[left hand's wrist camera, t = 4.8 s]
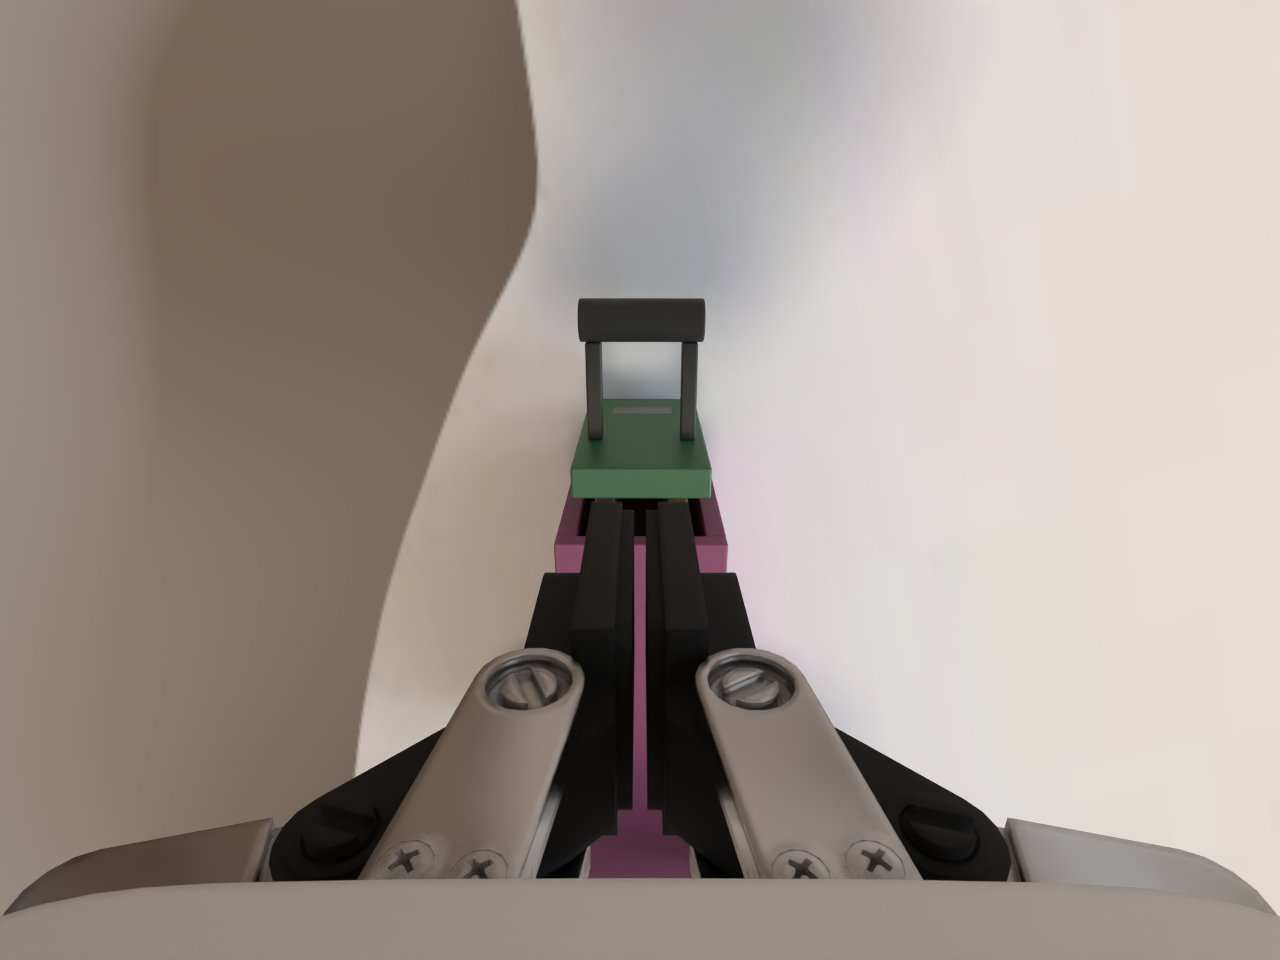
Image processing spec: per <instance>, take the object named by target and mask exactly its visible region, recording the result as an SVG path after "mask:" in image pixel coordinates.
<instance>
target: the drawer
mask: <svg viewBox="0 0 1280 960" xmlns="http://www.w3.org/2000/svg"><path fill="white" fill-rule="evenodd" d="M578 333H579V339H580V341H581V342H586V344H585V356H586V389H587V414H586V417H585V421H584V424H583V428H582V431H581V435H580V438H579V442H578V445H577V449H576V452H575V456H574V459H573V463H572V466H571V495H572V498H596V499H595V502H622V510H634V536H646V510H658V502H688V499H687V498H710V497H711V478H712V469H711V465H710V461H709V457H708V453H707V449H706V445H705V441H704V437H703V433H702V429H701V425H700V421H699V418H698V414H697V410H696V396H697V363H698V343H697V342H703V340H704V335H705V301H704V299H655V298H581V299H579V302H578ZM602 342H682V352H681V397H680V399H603V385H602Z"/></svg>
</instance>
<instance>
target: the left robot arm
mask: <svg viewBox="0 0 1280 960" xmlns="http://www.w3.org/2000/svg"><path fill="white" fill-rule="evenodd" d="M634 660H635V619H634V510H622V502H592V503H591V508H590V514H589V520H588V526H587V532H586V538H585V544H584V550H583V556H582V563H581V569H580V573H544V576H543V579H542V583H541V587H540V590H539V594H538V598H537V602H536V606H535V609H534V613H533V617H532V621H531V625H530V628H529V632H528V636H527V640H526V644H525V647H524V649H522V650H516V651H511V652H509V653H506V654H504V655H501V656H499V657H497V658H495V659H494V660H492V661H491V662H489V663H488V664H486V665H485V666H484V667H483V668H482V669H481V670H480V671H479V673H478V674H477V675H476V676H475V678H474V680H473V682H472V683H471V685H470V687H469V688H468V690H467V692H466V694H465V695H464V697H463V699H462V700H461V702H460V704H459V706H458V707H457V709H456V711H455V712H454V714H453V716H452V718H451V719H450V721H449V723H448V724H447V726H446V727H445V728H443V729H441V730H440V731H438V732H436V733H434V734H432V735H431V736H429V737H427V738H425V739H423V740H422V741H420V742H418V743H416V744H414V745H413V746H411V747H409V748H407V749H405V750H404V751H402V752H400V753H398V754H396V755H395V756H393V757H391V758H389V759H387V760H386V761H384V762H382V763H380V764H378V765H377V766H375V767H373V768H371V769H369V770H368V771H366V772H364V773H362V774H360V775H359V776H357V777H355V778H353V779H352V780H350V781H348V782H346V783H344V784H342V785H341V786H339V787H337V788H335V789H334V790H332V791H330V792H328V793H326V794H325V795H323V796H321V797H319V798H317V799H316V800H314V801H313V802H311V803H310V804H308V805H307V806H306V807H304V808H303V809H301V810H300V811H298V812H297V813H296V814H295V815H294V816H293V817H292V818H291V819H290V820H289V821H288V822H287V823H286V824H285V825H284V826H283V827H280V828H275V825H274V821H273V818H268V819H262V820H257V821H252V822H246V823H241V824H235V825H230V826H225V827H219V828H214V829H209V830H203V831H197V832H192V833H187V834H181V835H176V836H170V837H165V838H160V839H154V840H149V841H143V842H138V843H132V844H127V845H122V846H116V847H111V848H105V849H100V850H97V851H94V852H91V853H87V854H84V855H81V856H77V857H74V858H72V859H71V860H69V861H67V862H65V863H63V864H61V865H59V866H57V867H55V868H53V869H52V870H50V871H48V872H46V873H45V874H44V875H43V876H41V877H40V878H39V879H37V880H36V881H35V882H34V883H32V884H31V885H30V886H28V887H27V888H26V889H25V890H23V891H22V893H21V894H20V895H19V896H18V897H17V899H16V900H15V901H14V902H13V903H12V904H11V906H10V907H9V908H8V909H7V910H6V911H5V913H4V914H3V916H1V917H0V960H1280V917H1279V916H1277V914H1276V913H1275V911H1274V910H1273V909H1272V908H1271V907H1270V906H1269V904H1268V903H1267V902H1266V901H1265V900H1264V898H1263V897H1262V896H1261V895H1260V894H1259V893H1258V891H1257V890H1255V889H1254V888H1253V887H1252V886H1250V885H1249V884H1248V883H1246V882H1245V881H1244V880H1243V879H1241V878H1240V877H1239V876H1237V875H1236V874H1235V873H1234V872H1232V871H1230V870H1228V869H1227V868H1225V867H1223V866H1221V865H1219V864H1217V863H1215V862H1213V861H1211V860H1209V859H1208V858H1206V857H1203V856H1199V855H1196V854H1193V853H1190V852H1186V851H1183V850H1180V849H1175V848H1169V847H1164V846H1158V845H1153V844H1148V843H1142V842H1137V841H1131V840H1126V839H1121V838H1115V837H1110V836H1104V835H1099V834H1093V833H1088V832H1083V831H1077V830H1072V829H1066V828H1061V827H1056V826H1050V825H1045V824H1039V823H1034V822H1028V821H1023V820H1018V819H1012V818H1007V821H1006V825H1005V828H1000V827H997V826H996V825H995V824H994V823H993V822H992V821H991V820H990V819H989V818H988V817H987V816H986V815H985V814H984V813H983V812H982V811H980V810H979V809H977V808H976V807H975V806H973V805H972V804H970V803H969V802H967V801H966V800H964V799H963V798H961V797H959V796H957V795H956V794H954V793H952V792H950V791H948V790H947V789H945V788H943V787H941V786H939V785H938V784H936V783H934V782H932V781H930V780H929V779H927V778H925V777H923V776H921V775H920V774H918V773H916V772H914V771H912V770H911V769H909V768H907V767H905V766H903V765H902V764H900V763H898V762H896V761H894V760H893V759H891V758H889V757H887V756H885V755H884V754H882V753H880V752H878V751H876V750H875V749H873V748H871V747H869V746H867V745H866V744H864V743H862V742H860V741H858V740H857V739H855V738H853V737H851V736H849V735H848V734H846V733H844V732H842V731H840V730H839V729H837V728H835V727H834V726H833V724H832V723H831V721H830V719H829V718H828V716H827V714H826V712H825V711H824V709H823V707H822V706H821V704H820V702H819V700H818V699H817V697H816V695H815V694H814V692H813V690H812V688H811V687H810V685H809V683H808V682H807V680H806V678H805V676H804V675H803V674H802V673H801V671H800V670H799V669H798V668H797V667H796V666H795V665H794V664H792V663H791V662H789V661H788V660H786V659H785V658H783V657H781V656H779V655H776V654H774V653H771V652H769V651H764V650H758V649H756V647H755V644H754V640H753V636H752V632H751V628H750V625H749V621H748V617H747V613H746V609H745V606H744V602H743V598H742V594H741V590H740V587H739V583H738V579H737V576H736V573H700V569H699V562H698V556H697V550H696V544H695V538H694V532H693V526H692V520H691V514H690V508H689V503H688V502H658V510H646V620H645V660H646V743H647V810H662V831H663V835H678V836H679V837H680V838H682V839H683V840H684V841H685V842H686V843H688V844H689V862H690V871H691V875H692V878H588V875H589V871H590V862H591V844H592V843H594V842H595V841H596V840H597V839H598V838H600V837H601V836H602V835H617V831H618V810H633V743H634Z"/></svg>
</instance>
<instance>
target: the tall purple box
mask: <svg viewBox="0 0 1280 960" xmlns="http://www.w3.org/2000/svg"><path fill="white" fill-rule="evenodd" d="M595 499H596V498H572V495H571V485H570V488H569V492H568V496H567V500H566V503H565V507H564V511H563V514H562V518H561V522H560V526H559V529H558V533H557V537H556V540H555V544H554V553H555V572H556V573H580V569H581V563H582V556H583V550H584V544H585V538H586V532H587V526H588V520H589V514H590V508H591V503H592V502H595ZM687 499H688V503H689V508H690V514H691V520H692V526H693V532H694V538H695V544H696V550H697V556H698V562H699V569H700V573H727V555H728V544H727V540H726V535H725V531H724V527H723V523H722V519H721V515H720V511H719V507H718V503H717V499H716V494H715V490H714V486H713V482H712V478H711V497H710V498H687ZM634 619H635V660H634V743H633V810H618V831H617V835H602V836H601V837H600V838H598V839H597V840H596V841H595V842H594V843H592V844H591V862H590V871H589V875H588V878H692V875H691V871H690V862H689V844H688V843H686V842H685V841H684V840H683V839H682V838H680V837H679V836H678V835H663V831H662V810H647V743H646V660H645V620H646V536H634Z"/></svg>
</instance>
